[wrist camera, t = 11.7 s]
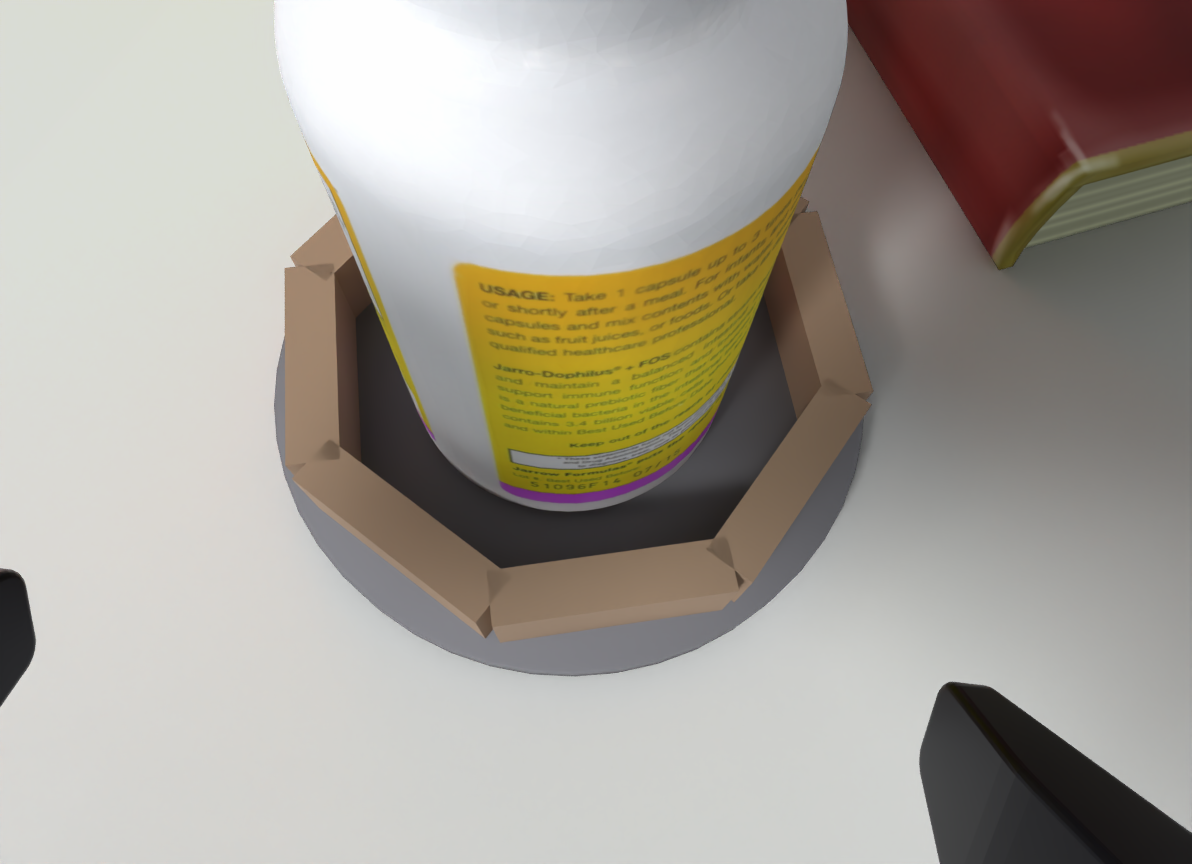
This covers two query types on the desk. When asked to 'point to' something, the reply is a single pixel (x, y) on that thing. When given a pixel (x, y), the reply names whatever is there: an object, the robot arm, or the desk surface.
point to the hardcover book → (1042, 107)
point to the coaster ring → (578, 538)
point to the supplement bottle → (564, 211)
